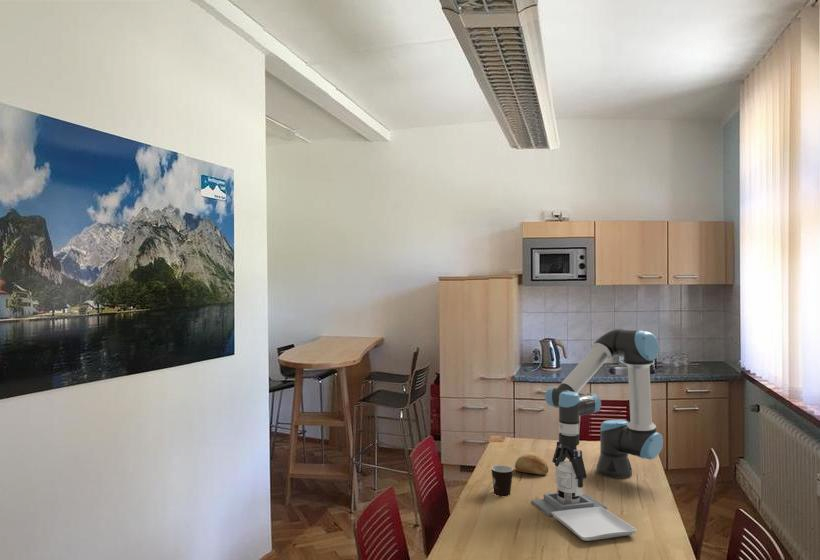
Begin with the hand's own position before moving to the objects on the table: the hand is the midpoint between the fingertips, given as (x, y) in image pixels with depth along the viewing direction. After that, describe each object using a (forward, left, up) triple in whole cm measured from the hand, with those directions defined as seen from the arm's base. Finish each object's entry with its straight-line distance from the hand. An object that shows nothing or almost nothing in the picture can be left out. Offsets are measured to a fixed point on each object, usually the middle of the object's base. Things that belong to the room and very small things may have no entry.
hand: (568, 489), depth 227 cm
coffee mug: (+18, -20, -7) cm, 28 cm away
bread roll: (-4, -38, -7) cm, 39 cm away
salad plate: (+3, +20, -7) cm, 22 cm away
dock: (0, 0, -6) cm, 6 cm away
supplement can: (0, 0, -6) cm, 6 cm away
